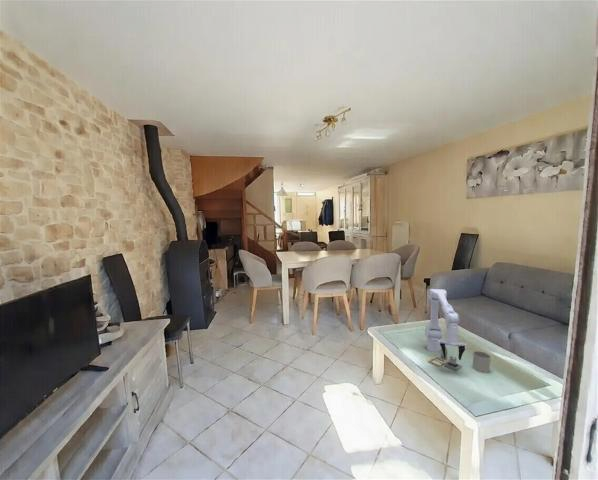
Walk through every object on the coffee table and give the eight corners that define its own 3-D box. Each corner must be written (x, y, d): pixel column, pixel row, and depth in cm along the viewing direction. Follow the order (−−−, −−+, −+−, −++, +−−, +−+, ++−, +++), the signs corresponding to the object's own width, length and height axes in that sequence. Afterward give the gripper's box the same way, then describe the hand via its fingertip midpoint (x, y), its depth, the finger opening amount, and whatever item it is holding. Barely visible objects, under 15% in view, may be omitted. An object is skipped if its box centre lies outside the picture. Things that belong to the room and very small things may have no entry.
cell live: (450, 364, 160) (451, 354, 160) (456, 367, 158) (457, 357, 157) (448, 366, 158) (449, 356, 158) (454, 369, 156) (455, 358, 155)
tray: (435, 359, 169) (435, 356, 169) (446, 363, 164) (446, 361, 163) (427, 363, 163) (428, 361, 163) (439, 368, 157) (439, 366, 157)
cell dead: (442, 356, 171) (442, 346, 171) (447, 358, 168) (448, 349, 168) (439, 358, 169) (440, 348, 169) (445, 360, 166) (446, 350, 166)
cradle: (450, 362, 165) (451, 358, 165) (463, 367, 159) (463, 363, 159) (443, 367, 159) (444, 363, 159) (456, 373, 153) (456, 368, 153)
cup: (485, 368, 160) (487, 352, 159) (491, 375, 152) (493, 359, 151) (470, 366, 162) (471, 350, 161) (475, 373, 154) (476, 356, 153)
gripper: (439, 334, 150) (439, 358, 149) (468, 337, 145) (468, 363, 144) (437, 331, 157) (437, 354, 156) (465, 334, 152) (465, 358, 151)
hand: (452, 358), depth 151 cm, fingers open, 7 cm apart
